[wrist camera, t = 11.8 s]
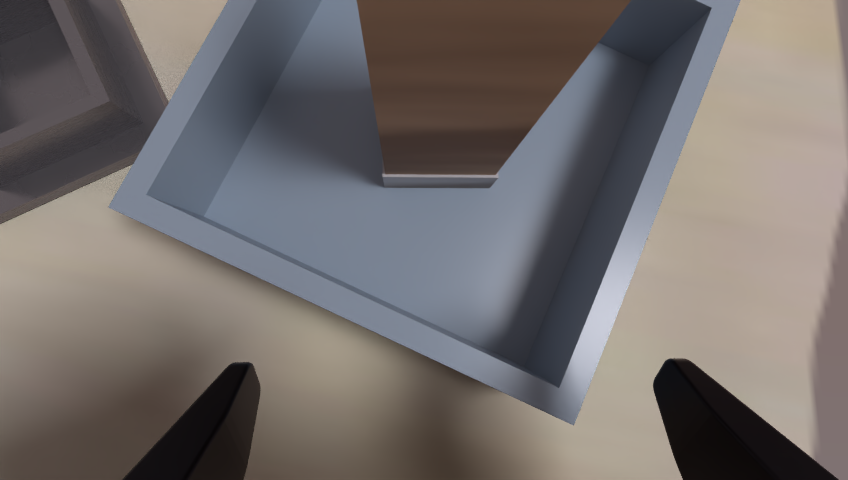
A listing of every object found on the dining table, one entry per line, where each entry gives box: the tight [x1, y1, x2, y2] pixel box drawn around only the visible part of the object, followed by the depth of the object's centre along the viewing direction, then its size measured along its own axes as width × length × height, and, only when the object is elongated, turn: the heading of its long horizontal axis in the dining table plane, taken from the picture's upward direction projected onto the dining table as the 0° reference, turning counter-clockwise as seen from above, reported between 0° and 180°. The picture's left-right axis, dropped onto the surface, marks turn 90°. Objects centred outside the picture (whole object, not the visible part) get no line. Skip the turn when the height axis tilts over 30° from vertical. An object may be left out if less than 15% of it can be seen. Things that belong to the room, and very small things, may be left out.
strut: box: [357, 0, 631, 188], centre depth 11 cm, size 4×4×12 cm
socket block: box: [0, 0, 168, 224], centre depth 16 cm, size 8×8×3 cm
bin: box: [109, 0, 740, 425], centre depth 16 cm, size 15×15×4 cm
